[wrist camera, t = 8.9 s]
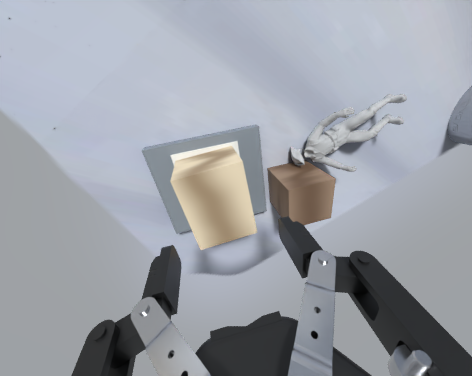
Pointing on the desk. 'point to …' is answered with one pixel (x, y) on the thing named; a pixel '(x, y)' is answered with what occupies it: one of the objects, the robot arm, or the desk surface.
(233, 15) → the desk surface
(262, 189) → the board
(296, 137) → the desk surface
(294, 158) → the soldier figure
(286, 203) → the walnut cube
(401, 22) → the desk surface
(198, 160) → the maple block
